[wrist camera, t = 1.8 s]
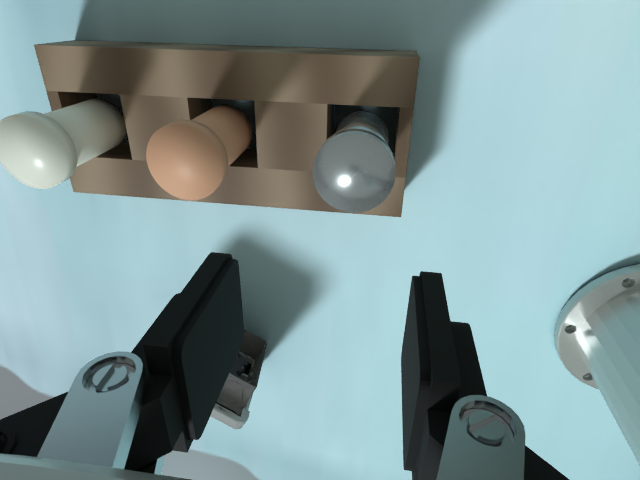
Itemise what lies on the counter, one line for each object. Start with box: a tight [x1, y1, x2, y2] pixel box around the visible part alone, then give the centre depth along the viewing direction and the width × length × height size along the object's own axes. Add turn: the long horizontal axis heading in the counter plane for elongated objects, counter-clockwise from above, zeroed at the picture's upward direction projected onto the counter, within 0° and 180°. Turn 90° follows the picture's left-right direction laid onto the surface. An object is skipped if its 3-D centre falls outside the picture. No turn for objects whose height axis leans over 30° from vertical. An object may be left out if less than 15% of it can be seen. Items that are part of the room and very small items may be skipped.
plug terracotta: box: [146, 105, 252, 200], centre depth 26 cm, size 4×4×7 cm
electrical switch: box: [210, 330, 267, 429], centre depth 38 cm, size 9×5×9 cm, turn 59°
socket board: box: [34, 40, 419, 217], centre depth 30 cm, size 24×10×4 cm, turn 89°
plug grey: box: [312, 111, 395, 213], centre depth 25 cm, size 4×4×7 cm
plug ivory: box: [0, 98, 126, 189], centre depth 27 cm, size 4×4×7 cm
